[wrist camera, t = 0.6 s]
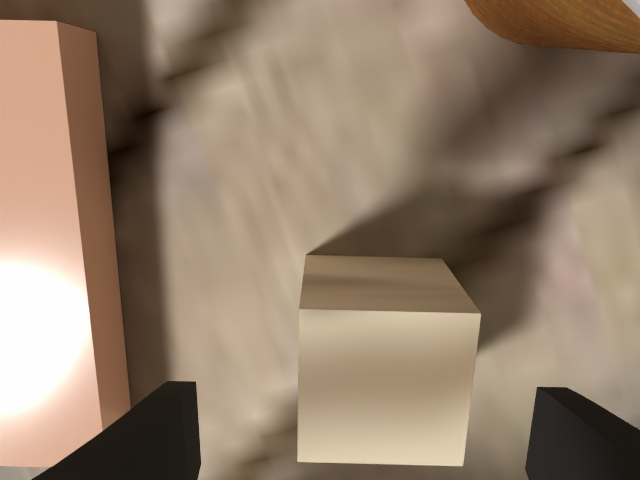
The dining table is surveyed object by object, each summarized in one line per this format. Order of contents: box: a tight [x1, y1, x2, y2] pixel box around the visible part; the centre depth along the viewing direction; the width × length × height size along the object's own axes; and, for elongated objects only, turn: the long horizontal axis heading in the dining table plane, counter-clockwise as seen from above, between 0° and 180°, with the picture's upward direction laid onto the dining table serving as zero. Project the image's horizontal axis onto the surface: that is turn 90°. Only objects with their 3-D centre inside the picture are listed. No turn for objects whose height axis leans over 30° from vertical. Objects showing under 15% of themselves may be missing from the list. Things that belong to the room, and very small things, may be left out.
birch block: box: [297, 255, 481, 466], centre depth 17 cm, size 5×5×5 cm
